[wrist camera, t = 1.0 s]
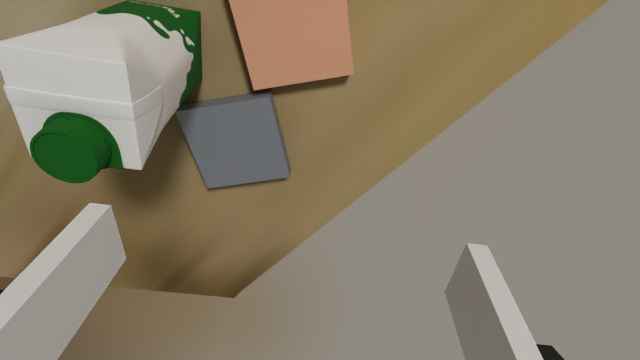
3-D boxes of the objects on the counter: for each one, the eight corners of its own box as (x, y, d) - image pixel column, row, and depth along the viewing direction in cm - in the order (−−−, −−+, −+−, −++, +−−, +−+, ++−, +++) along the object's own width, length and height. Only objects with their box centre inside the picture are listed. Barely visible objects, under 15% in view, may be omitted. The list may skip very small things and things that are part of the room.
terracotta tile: (226, -27, 34) (222, -24, 32) (340, -48, 33) (341, -47, 31) (256, 83, 40) (253, 90, 38) (352, 68, 39) (354, 74, 38)
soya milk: (131, 76, 39) (1, 179, 23) (118, -15, 34) (-61, 37, 18) (211, 88, 40) (140, 196, 24) (209, 1, 35) (119, 64, 19)
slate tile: (180, 104, 41) (174, 111, 40) (271, 90, 41) (269, 96, 39) (211, 179, 48) (207, 188, 46) (290, 168, 47) (289, 177, 45)
